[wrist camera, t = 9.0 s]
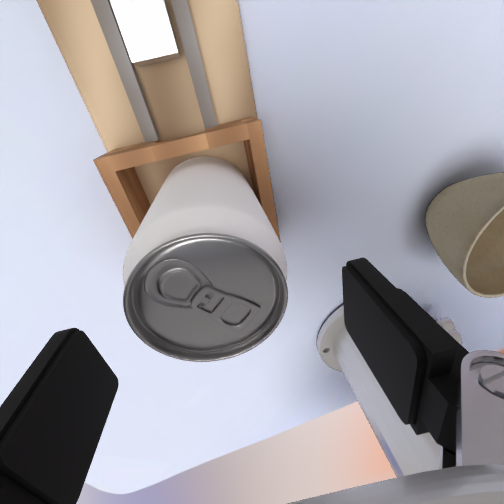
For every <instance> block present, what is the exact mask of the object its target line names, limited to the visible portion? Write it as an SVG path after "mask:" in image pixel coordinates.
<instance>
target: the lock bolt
mask: <svg viewBox="0 0 504 504" xmlns="http://www.w3.org/2000/svg"><path fill="white" fill-rule="evenodd" d="M110 3H111V6H112V9H113V11H114V14H115V17H116V20H117V23H118V25H119V28H120V31H121V34H122V37H123V39H124V42H125V45H126V48H127V50H128V53H129V56H130V59H131V62H132V63H133V64H135V65H137V66H139V67H144V66H148V65H152V64H157V63H161V62H166V61H170V60H174V59H179V58H181V56H180V52H179V49H178V45H177V41H176V38H175V34H174V30H173V27H172V23H171V20H170V16H169V12H168V9H167V5H166V1H165V0H110Z"/></svg>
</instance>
